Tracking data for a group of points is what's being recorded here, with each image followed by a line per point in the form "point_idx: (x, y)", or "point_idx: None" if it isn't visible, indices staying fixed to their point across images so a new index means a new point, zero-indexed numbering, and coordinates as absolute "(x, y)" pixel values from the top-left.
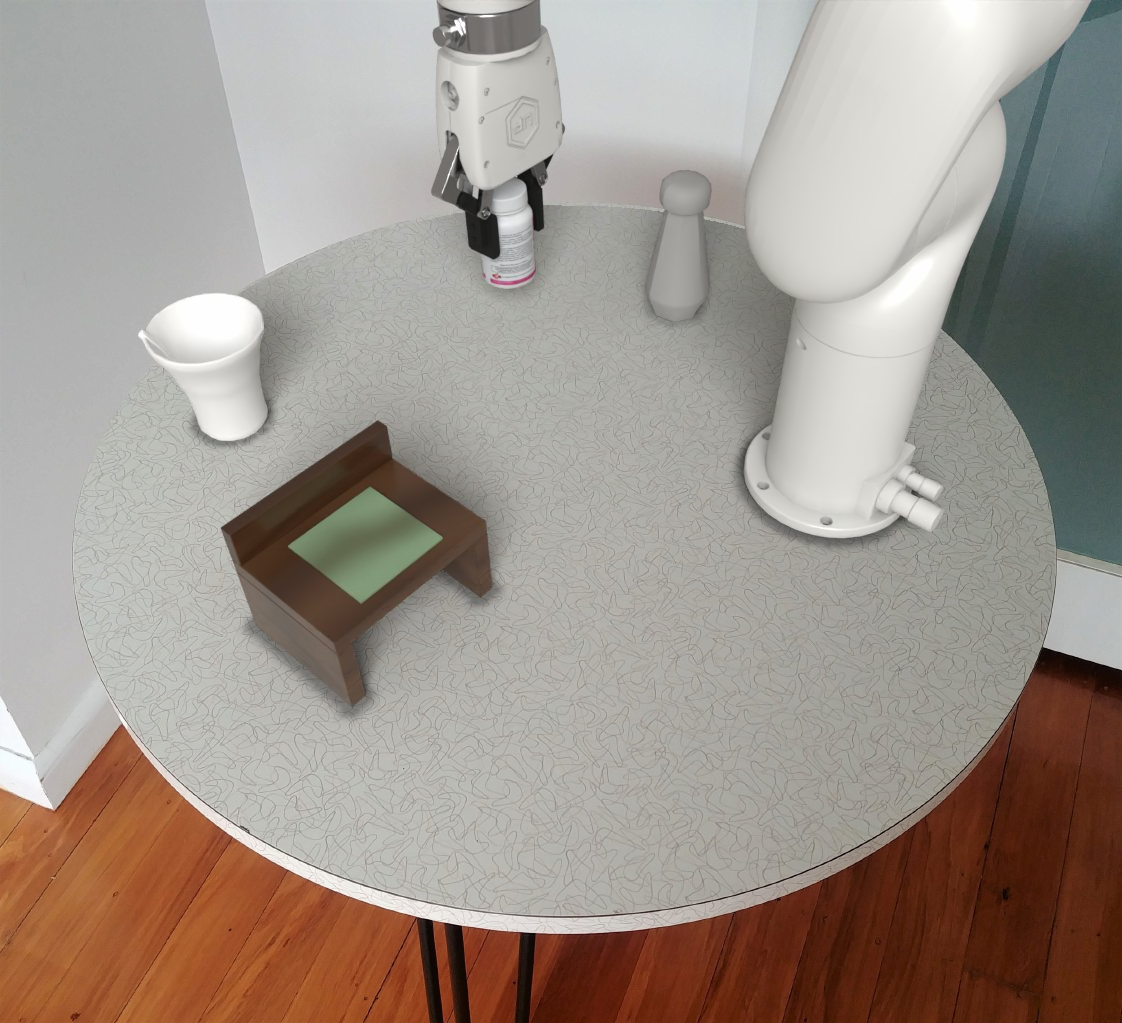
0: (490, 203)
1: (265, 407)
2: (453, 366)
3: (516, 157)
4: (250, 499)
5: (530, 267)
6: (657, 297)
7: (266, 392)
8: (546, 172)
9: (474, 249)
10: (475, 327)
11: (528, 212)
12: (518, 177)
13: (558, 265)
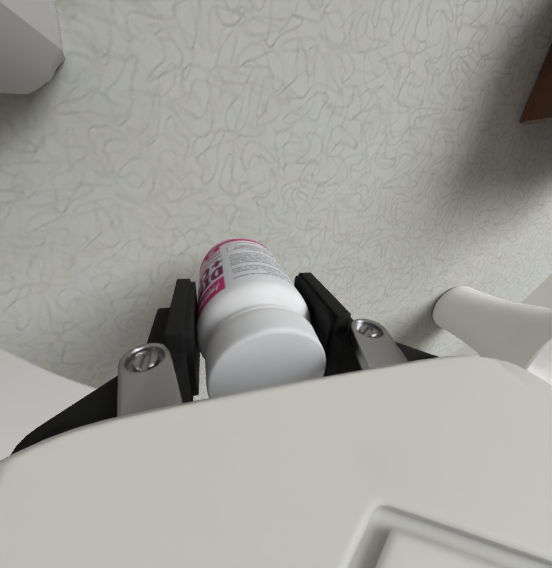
0: (364, 341)
1: (452, 297)
2: (339, 233)
3: (435, 457)
4: (510, 236)
5: (236, 244)
6: (49, 13)
7: (422, 314)
8: (119, 372)
9: None
10: (279, 262)
11: (235, 298)
12: (189, 398)
13: (116, 278)
